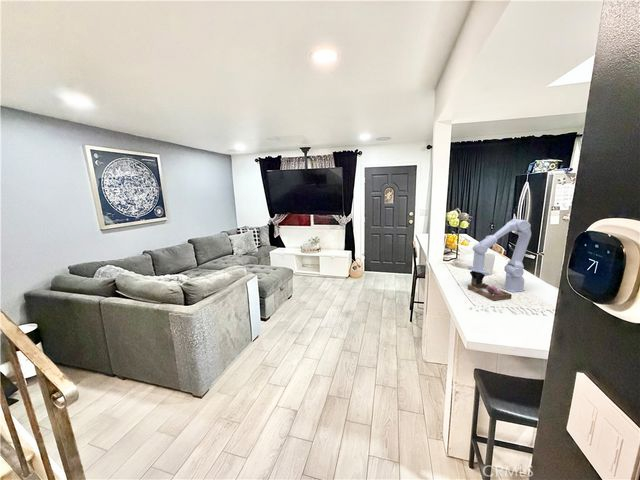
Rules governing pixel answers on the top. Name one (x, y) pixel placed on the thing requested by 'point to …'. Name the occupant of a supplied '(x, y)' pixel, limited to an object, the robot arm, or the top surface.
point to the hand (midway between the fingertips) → (476, 283)
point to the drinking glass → (489, 262)
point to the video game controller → (493, 290)
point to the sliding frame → (475, 287)
